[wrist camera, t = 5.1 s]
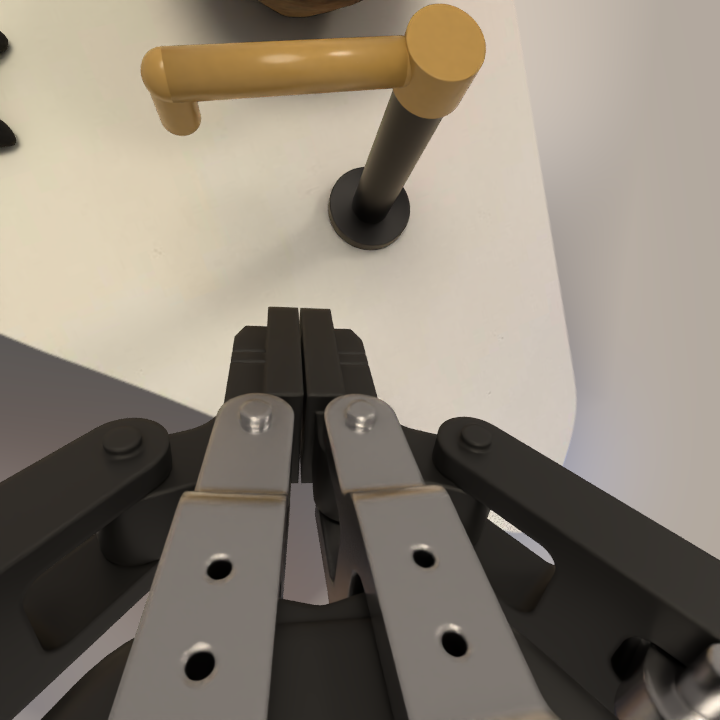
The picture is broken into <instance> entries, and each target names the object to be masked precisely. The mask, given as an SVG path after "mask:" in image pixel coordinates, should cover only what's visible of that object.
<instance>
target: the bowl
mask: <svg viewBox="0 0 720 720" xmlns="http://www.w3.org/2000/svg"><path fill="white" fill-rule="evenodd" d="M257 1H259V2H261V3H263V4H264V5H266V6H268V7H269V8H271V9H272V10H274V11H276V12H278V13H280V14H281V15H284V16H288V17H308V16H313V15H317V14H321V13H326V12H330V11H333V10H336V9H339V8H343V7H347V6H350V5H353V4H356V3H358V2H360V1H362V0H257Z"/></svg>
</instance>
